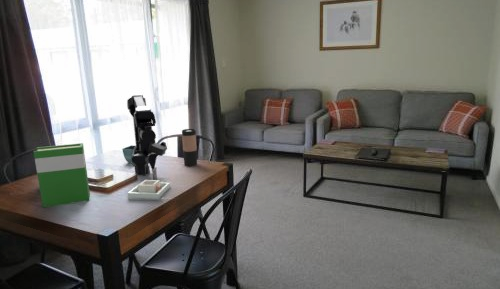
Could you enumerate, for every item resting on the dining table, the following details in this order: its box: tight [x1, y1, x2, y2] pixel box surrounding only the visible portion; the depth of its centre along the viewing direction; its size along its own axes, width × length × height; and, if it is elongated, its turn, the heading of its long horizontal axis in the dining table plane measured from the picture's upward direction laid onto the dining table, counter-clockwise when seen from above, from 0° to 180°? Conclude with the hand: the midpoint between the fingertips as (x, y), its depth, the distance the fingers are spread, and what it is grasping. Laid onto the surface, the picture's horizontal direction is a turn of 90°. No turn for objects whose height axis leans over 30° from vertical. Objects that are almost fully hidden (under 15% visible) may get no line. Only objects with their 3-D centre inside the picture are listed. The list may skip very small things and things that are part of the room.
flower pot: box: [122, 144, 135, 164], centre depth 209 cm, size 9×9×9 cm
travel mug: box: [181, 128, 198, 167], centre depth 201 cm, size 8×8×20 cm
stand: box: [147, 166, 170, 183], centre depth 174 cm, size 10×10×7 cm
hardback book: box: [33, 142, 91, 208], centre depth 152 cm, size 18×7×24 cm, turn 111°
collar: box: [137, 179, 163, 193], centre depth 160 cm, size 7×9×4 cm
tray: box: [127, 181, 171, 201], centre depth 160 cm, size 14×14×3 cm
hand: (148, 172), depth 159 cm, fingers open, 9 cm apart
